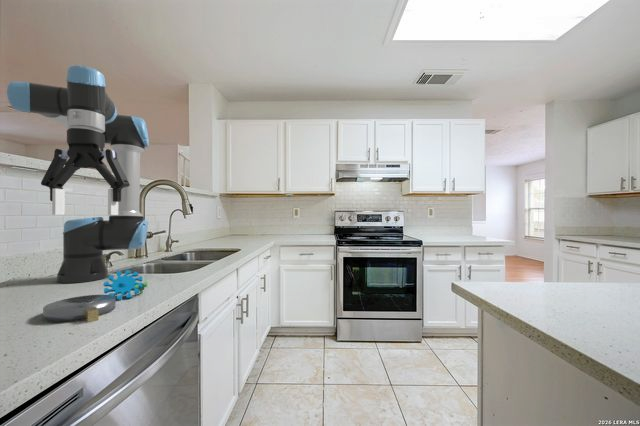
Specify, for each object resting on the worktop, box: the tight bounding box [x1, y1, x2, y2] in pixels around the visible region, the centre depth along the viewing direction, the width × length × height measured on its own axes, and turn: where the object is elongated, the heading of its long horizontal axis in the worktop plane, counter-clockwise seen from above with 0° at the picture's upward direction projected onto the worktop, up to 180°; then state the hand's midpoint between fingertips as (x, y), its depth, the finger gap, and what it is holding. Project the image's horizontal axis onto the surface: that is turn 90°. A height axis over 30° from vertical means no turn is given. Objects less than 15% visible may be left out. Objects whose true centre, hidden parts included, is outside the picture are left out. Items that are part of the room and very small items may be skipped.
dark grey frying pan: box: [42, 294, 116, 324], centre depth 72 cm, size 17×14×2 cm
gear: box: [103, 269, 149, 301], centre depth 88 cm, size 11×6×10 cm
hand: (85, 214), depth 74 cm, fingers open, 13 cm apart
